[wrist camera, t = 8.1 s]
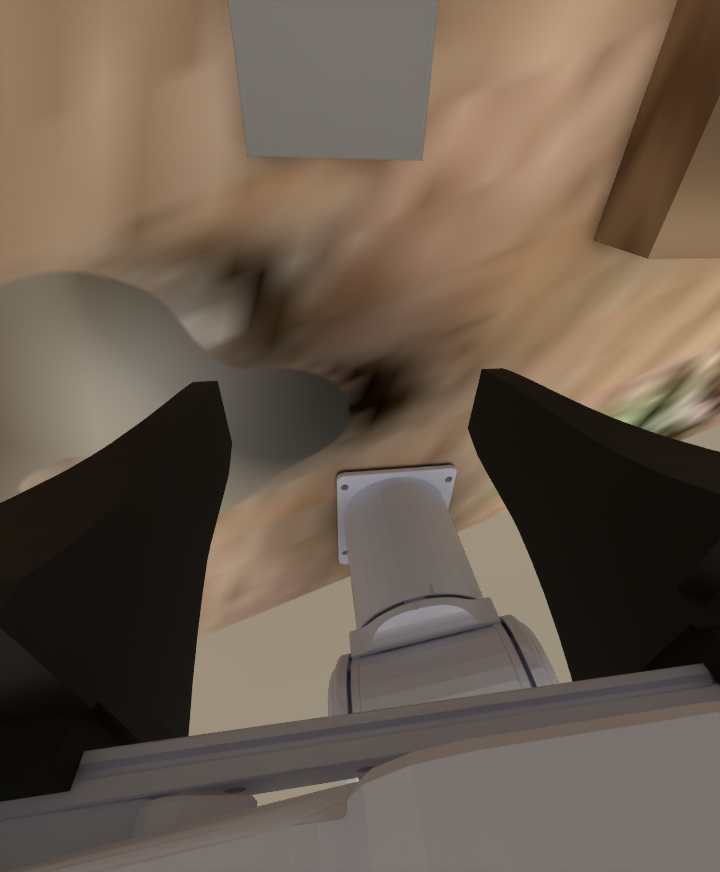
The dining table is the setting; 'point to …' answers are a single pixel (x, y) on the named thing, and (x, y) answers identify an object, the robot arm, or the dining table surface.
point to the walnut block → (673, 149)
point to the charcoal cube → (334, 76)
